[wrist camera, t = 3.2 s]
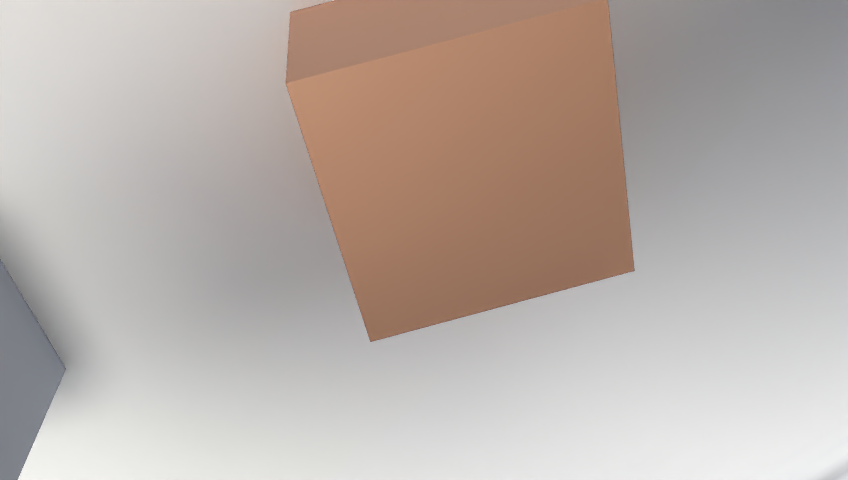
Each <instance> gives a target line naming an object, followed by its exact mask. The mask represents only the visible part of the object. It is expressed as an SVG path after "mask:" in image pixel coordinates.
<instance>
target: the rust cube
mask: <svg viewBox="0 0 848 480" xmlns="http://www.w3.org/2000/svg"><path fill="white" fill-rule="evenodd" d="M286 86H287V89H288V92H289V95H290V98H291V101H292V104H293V107H294V110H295V113H296V116H297V119H298V122H299V125H300V128H301V132H302V135H303V138H304V141H305V144H306V147H307V150H308V153H309V156H310V159H311V162H312V165H313V168H314V171H315V174H316V177H317V180H318V183H319V186H320V189H321V192H322V196H323V199H324V202H325V205H326V208H327V211H328V214H329V217H330V220H331V223H332V226H333V229H334V232H335V235H336V238H337V241H338V244H339V247H340V250H341V253H342V256H343V260H344V263H345V266H346V269H347V272H348V275H349V278H350V281H351V284H352V287H353V290H354V293H355V296H356V299H357V302H358V305H359V308H360V311H361V314H362V317H363V320H364V324H365V327H366V330H367V333H368V336H369V339H370V342H372V341H376V340H379V339H383V338H387V337H391V336H394V335H398V334H402V333H405V332H409V331H413V330H417V329H420V328H424V327H428V326H431V325H435V324H439V323H442V322H446V321H450V320H454V319H457V318H461V317H465V316H468V315H472V314H476V313H480V312H483V311H487V310H491V309H494V308H498V307H502V306H506V305H509V304H513V303H517V302H520V301H524V300H528V299H532V298H535V297H539V296H543V295H546V294H550V293H554V292H558V291H561V290H565V289H569V288H572V287H576V286H580V285H584V284H587V283H591V282H595V281H598V280H602V279H606V278H610V277H613V276H617V275H621V274H624V273H628V272H632V271H634V261H633V250H632V240H631V230H630V220H629V210H628V200H627V189H626V179H625V169H624V159H623V149H622V139H621V128H620V118H619V108H618V98H617V88H616V78H615V67H614V57H613V47H612V37H611V27H610V16H609V6H608V0H334V1H331V2H327V3H323V4H319V5H315V6H312V7H308V8H304V9H300V10H296V11H293V12H290V24H289V40H288V56H287V71H286Z"/></svg>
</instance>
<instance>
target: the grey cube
mask: <svg viewBox="0 0 848 480" xmlns="http://www.w3.org/2000/svg"><path fill="white" fill-rule="evenodd" d="M65 370H66V368H65V367H64V365H63V363H62V362H61V360H60V358H59V357H58V355H57V353H56V352H55V350H54V348H53V347H52V345H51V343H50V342H49V340H48V338H47V337H46V335H45V333H44V331H43V330H42V328H41V326H40V325H39V323H38V321H37V320H36V318H35V316H34V315H33V313H32V311H31V310H30V308H29V306H28V305H27V303H26V301H25V300H24V298H23V296H22V295H21V293H20V291H19V290H18V288H17V286H16V285H15V283H14V281H13V280H12V278H11V276H10V275H9V273H8V271H7V270H6V268H5V266H4V265H3V263H2V261H1V260H0V480H18V478H19V475H20V473H21V471H22V468H23V466H24V464H25V461H26V459H27V457H28V455H29V452H30V450H31V448H32V445H33V443H34V441H35V438H36V436H37V434H38V432H39V429H40V427H41V425H42V422H43V420H44V418H45V416H46V413H47V411H48V409H49V406H50V404H51V402H52V399H53V397H54V395H55V393H56V390H57V388H58V386H59V383H60V381H61V379H62V376H63V374H64V372H65Z"/></svg>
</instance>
